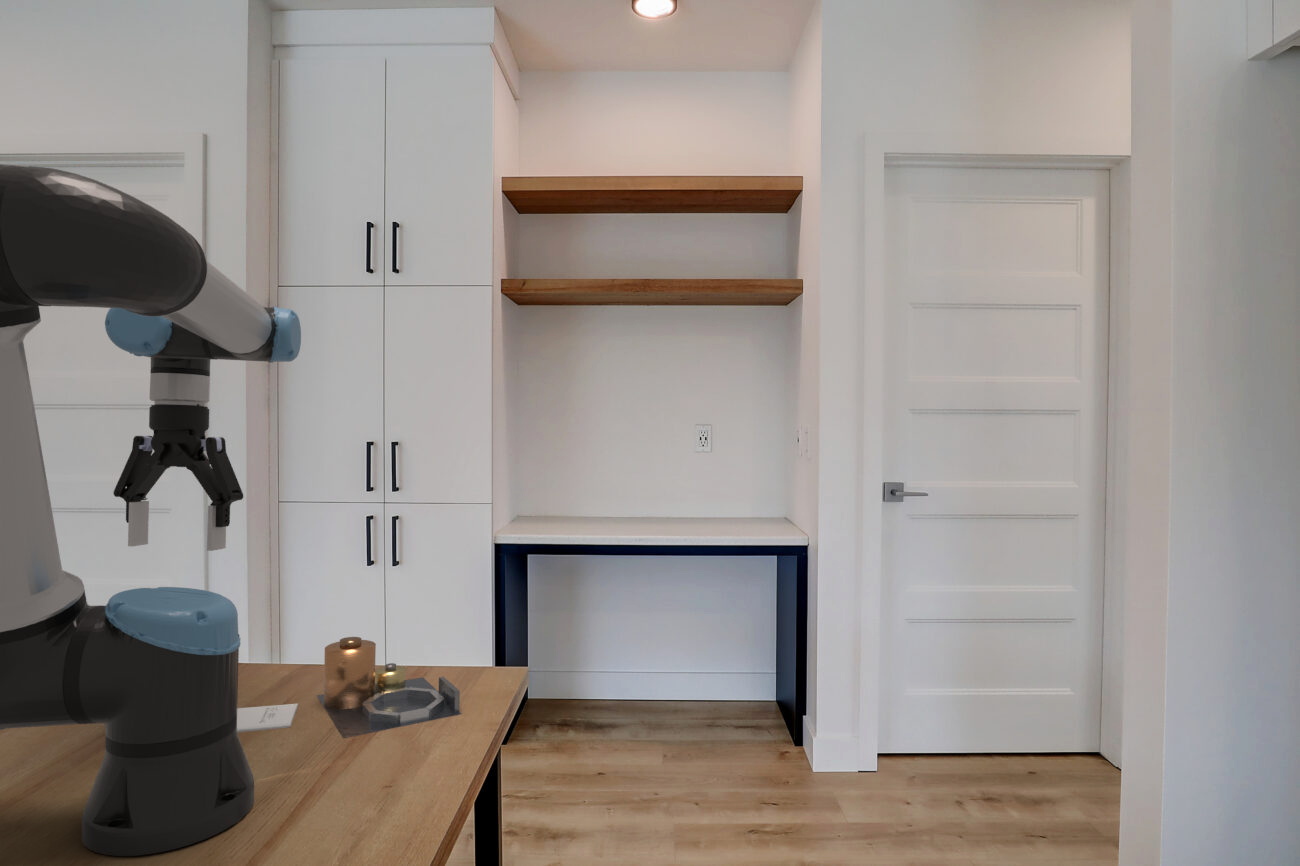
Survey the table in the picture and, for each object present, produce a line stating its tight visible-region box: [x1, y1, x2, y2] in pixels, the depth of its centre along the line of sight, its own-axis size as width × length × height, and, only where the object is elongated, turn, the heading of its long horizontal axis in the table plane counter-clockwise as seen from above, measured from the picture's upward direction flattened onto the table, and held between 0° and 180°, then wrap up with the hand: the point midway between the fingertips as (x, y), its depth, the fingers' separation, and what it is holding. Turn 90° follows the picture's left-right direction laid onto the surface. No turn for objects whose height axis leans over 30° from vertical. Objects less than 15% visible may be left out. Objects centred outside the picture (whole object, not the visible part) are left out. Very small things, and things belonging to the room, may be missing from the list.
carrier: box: [316, 662, 463, 739], centre depth 109 cm, size 18×16×4 cm
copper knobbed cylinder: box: [323, 636, 377, 709], centre depth 110 cm, size 7×7×9 cm
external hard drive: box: [237, 703, 299, 733], centre depth 102 cm, size 2×8×12 cm
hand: (176, 547), depth 110 cm, fingers open, 13 cm apart
